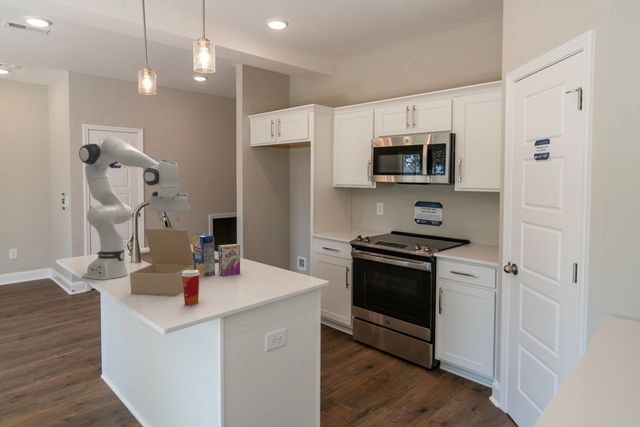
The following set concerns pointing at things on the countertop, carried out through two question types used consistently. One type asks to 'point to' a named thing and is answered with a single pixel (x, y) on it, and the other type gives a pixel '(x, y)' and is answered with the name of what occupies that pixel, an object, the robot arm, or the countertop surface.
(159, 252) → the lid flap
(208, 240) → the beverage box
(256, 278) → the countertop surface
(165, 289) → the carton
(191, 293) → the paper cup
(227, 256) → the candy bar box
